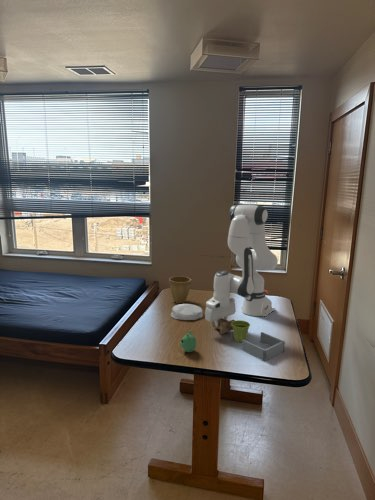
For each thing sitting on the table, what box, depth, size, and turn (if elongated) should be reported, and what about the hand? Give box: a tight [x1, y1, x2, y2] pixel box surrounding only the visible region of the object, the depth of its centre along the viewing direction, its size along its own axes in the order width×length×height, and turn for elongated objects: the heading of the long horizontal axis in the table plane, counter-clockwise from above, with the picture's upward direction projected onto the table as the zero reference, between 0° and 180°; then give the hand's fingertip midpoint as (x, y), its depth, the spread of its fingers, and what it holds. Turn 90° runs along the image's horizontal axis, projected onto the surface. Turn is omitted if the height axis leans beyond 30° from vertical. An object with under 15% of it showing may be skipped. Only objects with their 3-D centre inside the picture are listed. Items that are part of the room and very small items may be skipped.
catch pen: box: [241, 331, 286, 362], centre depth 164 cm, size 15×14×5 cm
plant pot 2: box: [231, 320, 251, 343], centre depth 175 cm, size 9×9×9 cm
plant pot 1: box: [168, 276, 192, 304], centre depth 229 cm, size 15×15×16 cm
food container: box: [170, 303, 204, 321], centre depth 208 cm, size 20×20×7 cm
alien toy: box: [179, 330, 197, 353], centre depth 162 cm, size 7×8×10 cm
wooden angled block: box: [212, 318, 236, 335], centre depth 185 cm, size 10×10×5 cm
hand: (220, 325), depth 186 cm, fingers closed on wooden angled block, 3 cm apart
